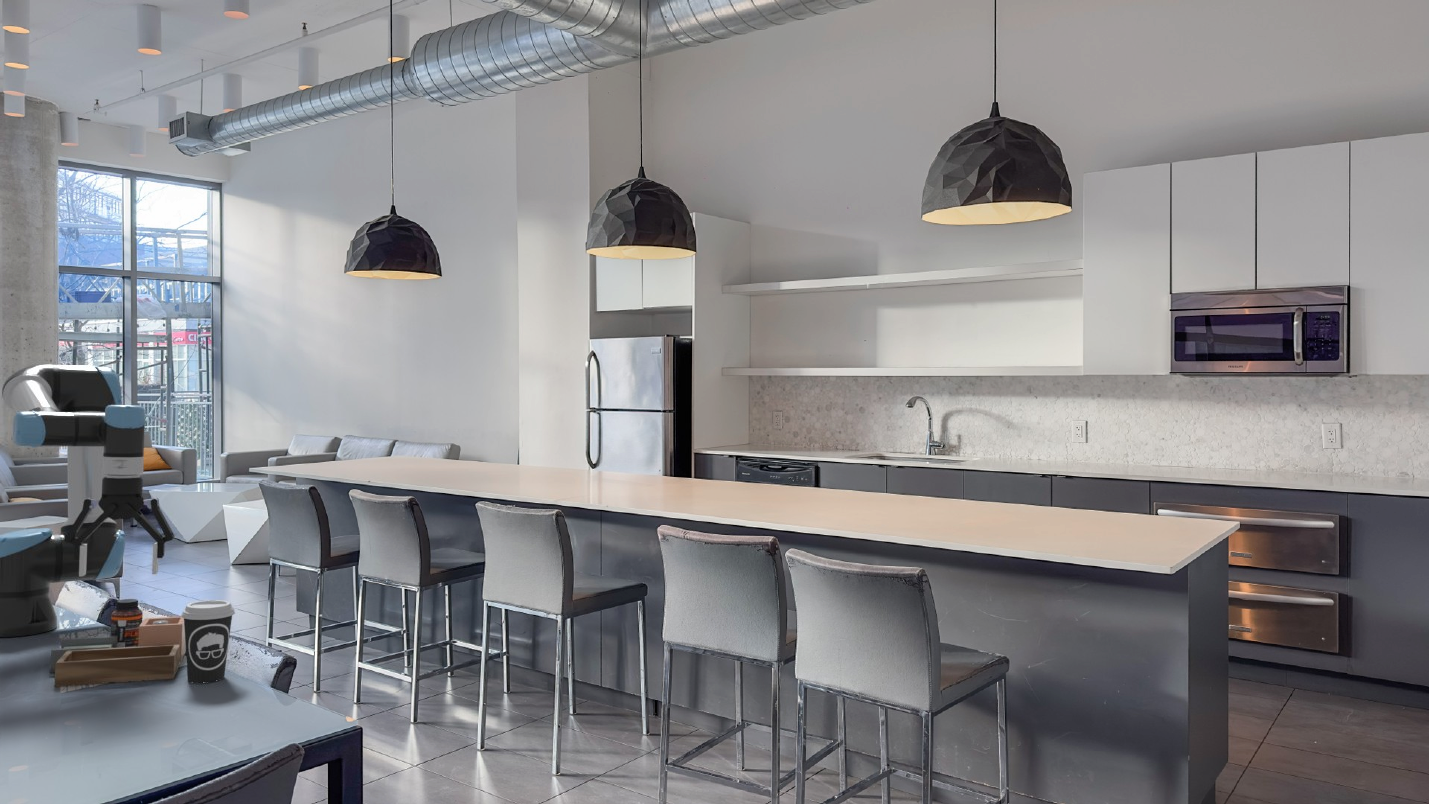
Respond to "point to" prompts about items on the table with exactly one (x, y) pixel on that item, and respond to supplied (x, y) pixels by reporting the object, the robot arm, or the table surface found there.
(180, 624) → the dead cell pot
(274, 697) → the table surface
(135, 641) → the supplement bottle
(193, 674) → the coffee cup
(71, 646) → the pale green flat panel
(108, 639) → the cradle base
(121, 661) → the trough
